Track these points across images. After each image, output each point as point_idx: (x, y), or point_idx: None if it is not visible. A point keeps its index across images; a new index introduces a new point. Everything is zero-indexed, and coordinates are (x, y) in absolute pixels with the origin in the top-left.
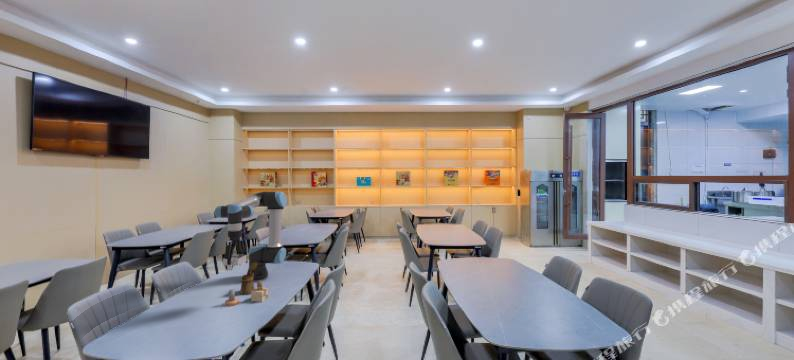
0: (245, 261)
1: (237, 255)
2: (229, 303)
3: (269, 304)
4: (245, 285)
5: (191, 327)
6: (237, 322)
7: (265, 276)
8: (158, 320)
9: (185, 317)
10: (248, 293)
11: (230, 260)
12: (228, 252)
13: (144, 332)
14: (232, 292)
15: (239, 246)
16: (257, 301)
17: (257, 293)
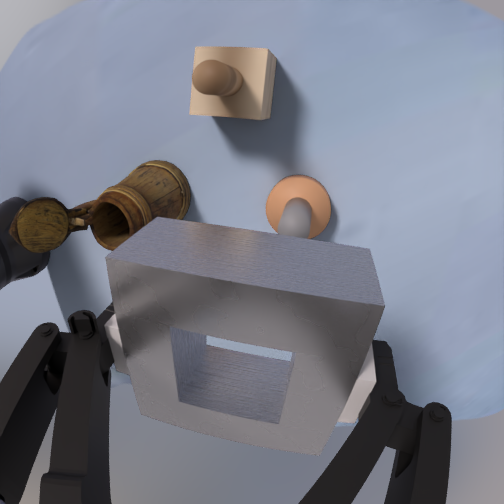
0: (180, 222)
1: (162, 369)
2: (330, 207)
3: (311, 10)
4: (162, 204)
5: (499, 263)
6: (494, 102)
7: (20, 200)
8: (412, 381)
9: (414, 324)
10: (181, 176)
11: (376, 378)
12: (439, 495)
13: (478, 368)
14: (306, 218)
15: (87, 465)
16: (273, 83)
17: (266, 79)
